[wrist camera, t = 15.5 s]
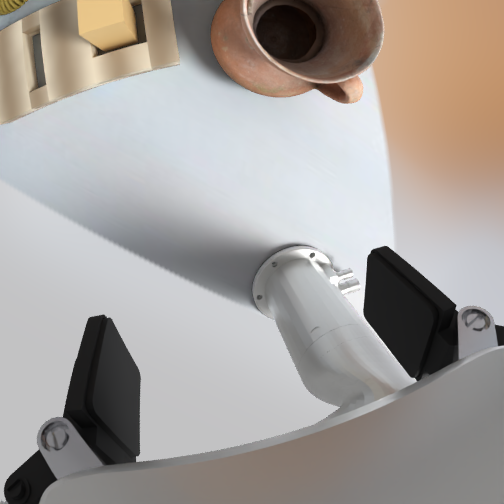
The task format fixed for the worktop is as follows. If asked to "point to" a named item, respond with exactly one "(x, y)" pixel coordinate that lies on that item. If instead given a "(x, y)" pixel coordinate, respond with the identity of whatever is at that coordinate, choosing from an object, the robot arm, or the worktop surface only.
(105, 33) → the peg
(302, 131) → the worktop surface
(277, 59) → the ceramic jug
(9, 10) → the sculpture
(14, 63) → the socket board
